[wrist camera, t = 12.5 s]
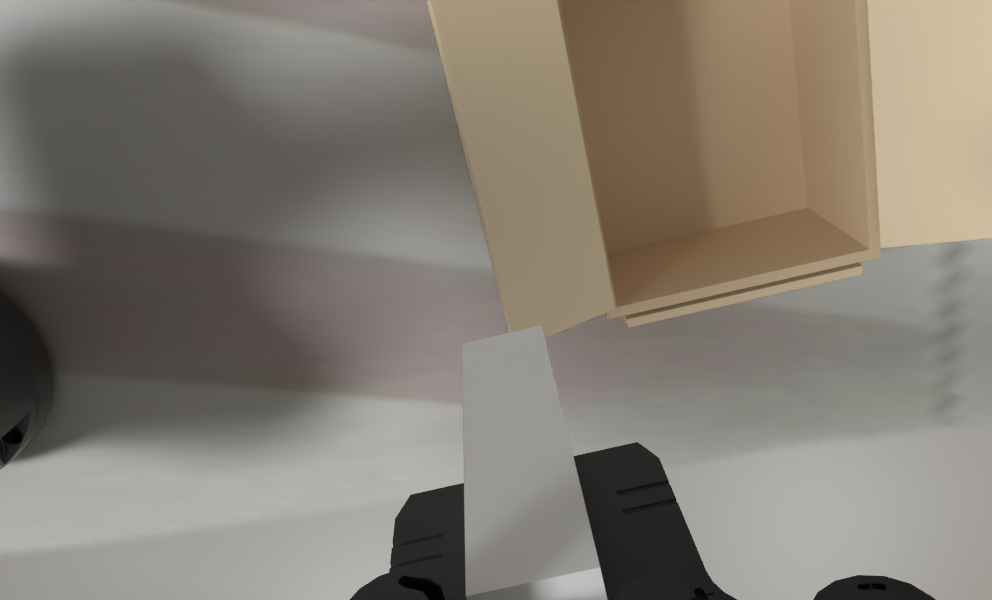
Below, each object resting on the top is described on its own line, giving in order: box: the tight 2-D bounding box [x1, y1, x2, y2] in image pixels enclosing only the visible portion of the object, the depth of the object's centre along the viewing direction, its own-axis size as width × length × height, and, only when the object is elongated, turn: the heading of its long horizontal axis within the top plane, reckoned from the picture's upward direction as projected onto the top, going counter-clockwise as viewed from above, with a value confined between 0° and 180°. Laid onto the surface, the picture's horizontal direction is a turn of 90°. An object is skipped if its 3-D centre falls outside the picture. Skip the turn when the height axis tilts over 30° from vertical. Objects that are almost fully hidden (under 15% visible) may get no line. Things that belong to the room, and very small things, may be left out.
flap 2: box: [866, 0, 992, 248], centre depth 39 cm, size 1×17×6 cm
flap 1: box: [427, 0, 615, 338], centre depth 40 cm, size 1×17×6 cm
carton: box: [557, 0, 881, 328], centre depth 45 cm, size 15×21×9 cm
